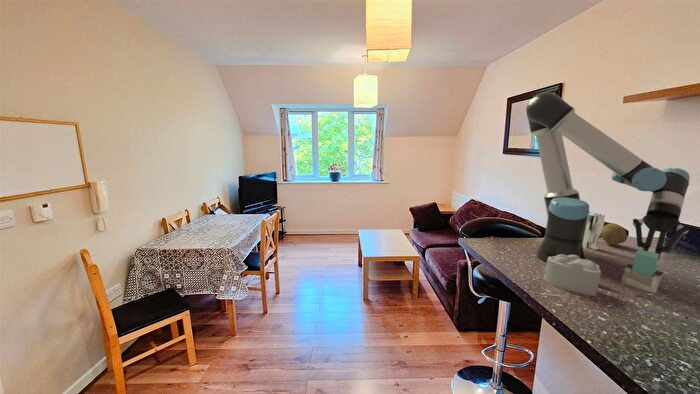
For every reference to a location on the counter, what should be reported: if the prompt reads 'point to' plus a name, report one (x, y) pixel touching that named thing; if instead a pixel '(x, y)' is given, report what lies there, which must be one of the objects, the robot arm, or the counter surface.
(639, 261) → the teal block
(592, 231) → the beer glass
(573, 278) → the lumpy-topped squat cylinder
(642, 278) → the guide channel
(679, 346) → the counter surface
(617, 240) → the natural sponge
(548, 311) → the counter surface
